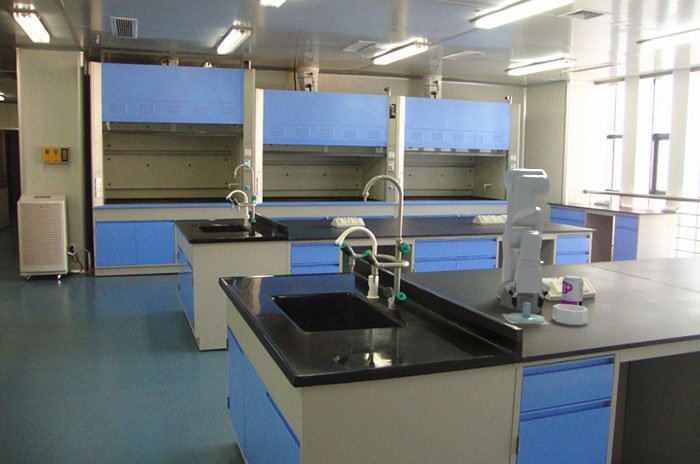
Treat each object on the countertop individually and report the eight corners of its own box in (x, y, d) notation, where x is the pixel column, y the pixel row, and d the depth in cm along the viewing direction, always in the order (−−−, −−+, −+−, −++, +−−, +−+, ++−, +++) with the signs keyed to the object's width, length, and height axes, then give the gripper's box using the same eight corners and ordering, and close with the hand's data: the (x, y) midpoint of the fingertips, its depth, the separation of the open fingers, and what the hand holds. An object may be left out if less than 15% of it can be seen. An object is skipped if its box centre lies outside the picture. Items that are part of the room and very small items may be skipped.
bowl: (549, 317, 233) (550, 303, 233) (579, 318, 233) (580, 304, 232) (559, 324, 221) (560, 310, 221) (590, 325, 221) (591, 311, 220)
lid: (504, 314, 235) (504, 298, 234) (538, 315, 234) (539, 299, 234) (512, 323, 221) (513, 306, 220) (549, 324, 221) (550, 307, 220)
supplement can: (568, 314, 238) (571, 278, 236) (556, 310, 246) (558, 275, 244) (585, 314, 240) (588, 278, 238) (573, 309, 248) (575, 274, 246)
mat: (501, 314, 235) (501, 313, 235) (538, 316, 234) (538, 315, 234) (509, 324, 221) (509, 322, 221) (549, 325, 221) (549, 324, 221)
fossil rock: (496, 314, 251) (494, 280, 252) (512, 313, 256) (510, 279, 257) (533, 315, 234) (531, 278, 235) (549, 314, 239) (547, 277, 240)
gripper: (548, 263, 229) (546, 306, 230) (504, 261, 229) (502, 304, 231) (554, 266, 221) (552, 310, 223) (509, 264, 222) (506, 308, 223)
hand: (526, 307), depth 227 cm, fingers open, 9 cm apart
